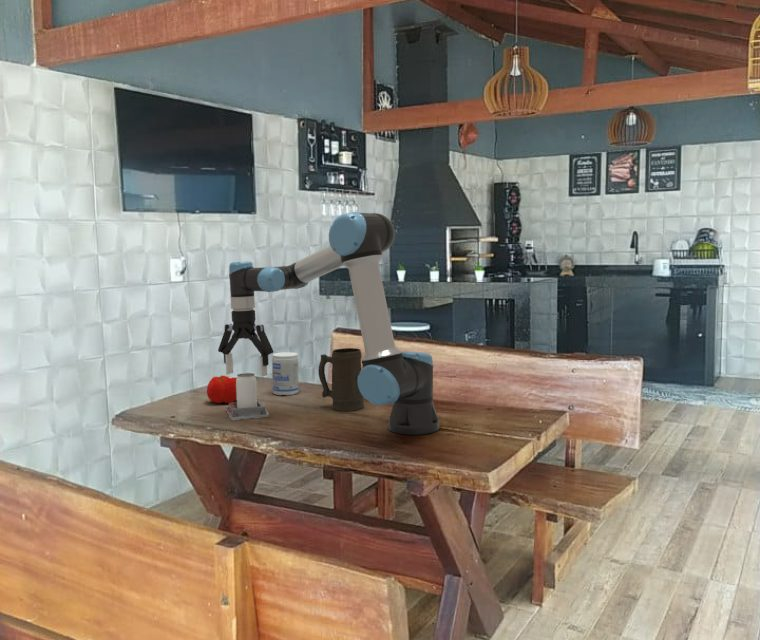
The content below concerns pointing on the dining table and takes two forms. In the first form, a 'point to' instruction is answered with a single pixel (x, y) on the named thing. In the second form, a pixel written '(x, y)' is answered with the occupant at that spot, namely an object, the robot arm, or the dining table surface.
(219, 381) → the tomato
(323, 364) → the beer stein
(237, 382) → the can
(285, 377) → the supplement tub
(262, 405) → the grey flat rectangular tray
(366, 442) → the dining table surface
